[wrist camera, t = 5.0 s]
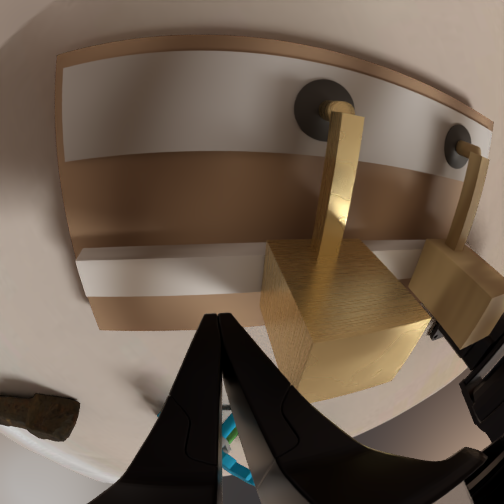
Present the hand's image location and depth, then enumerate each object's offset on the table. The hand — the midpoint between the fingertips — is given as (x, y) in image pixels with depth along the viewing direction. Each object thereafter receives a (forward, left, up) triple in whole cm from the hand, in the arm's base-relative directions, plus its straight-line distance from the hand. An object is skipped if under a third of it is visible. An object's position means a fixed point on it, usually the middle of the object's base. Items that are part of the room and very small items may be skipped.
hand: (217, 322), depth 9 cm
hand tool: (+22, +17, -6) cm, 28 cm away
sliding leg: (-4, -3, -3) cm, 6 cm away
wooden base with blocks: (-5, -2, -5) cm, 8 cm away
